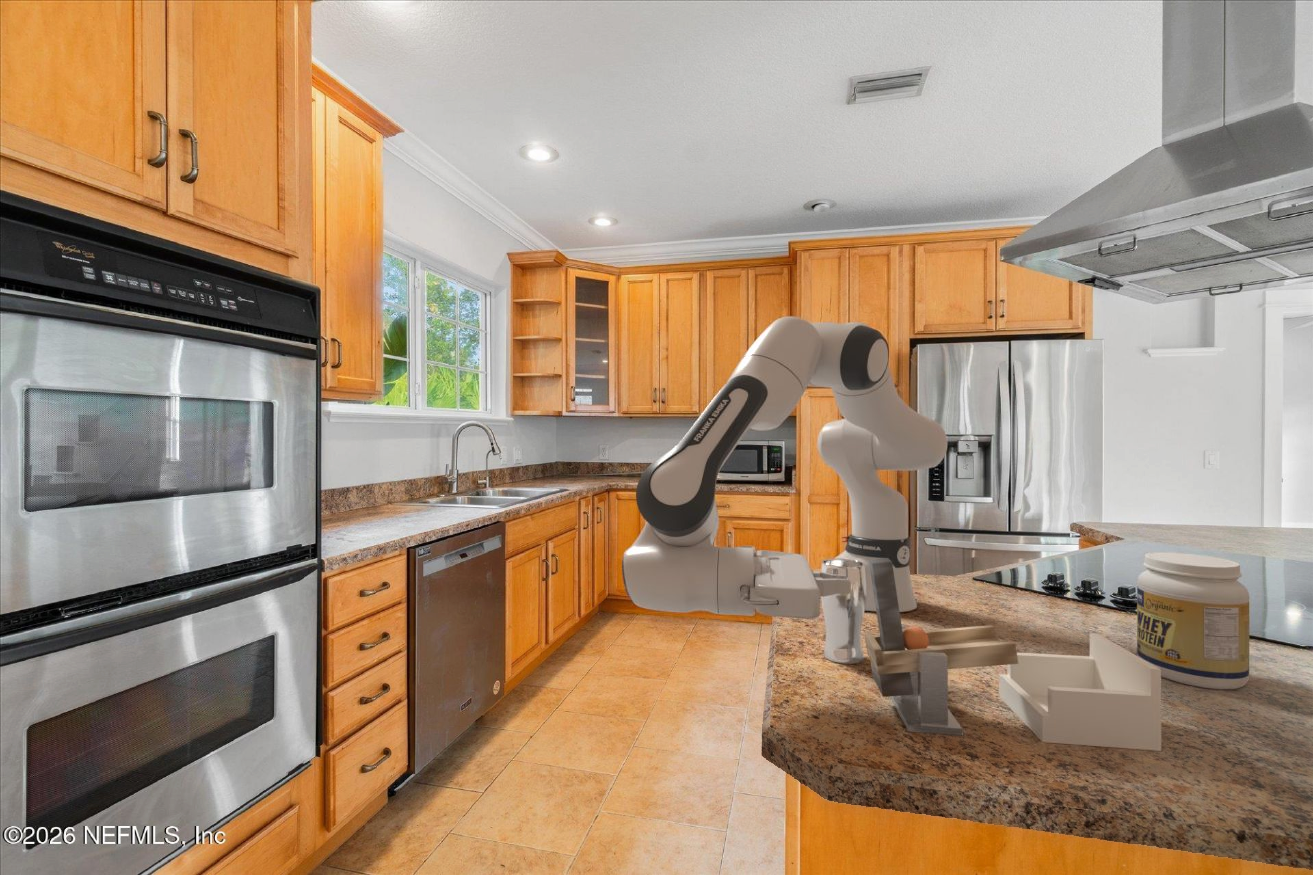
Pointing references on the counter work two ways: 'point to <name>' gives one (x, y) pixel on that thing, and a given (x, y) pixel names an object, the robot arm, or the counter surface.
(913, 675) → the fulcrum
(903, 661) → the lever
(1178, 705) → the counter surface
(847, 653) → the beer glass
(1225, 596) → the supplement tub
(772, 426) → the robot arm
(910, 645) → the ball
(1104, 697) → the cream open-top tray
